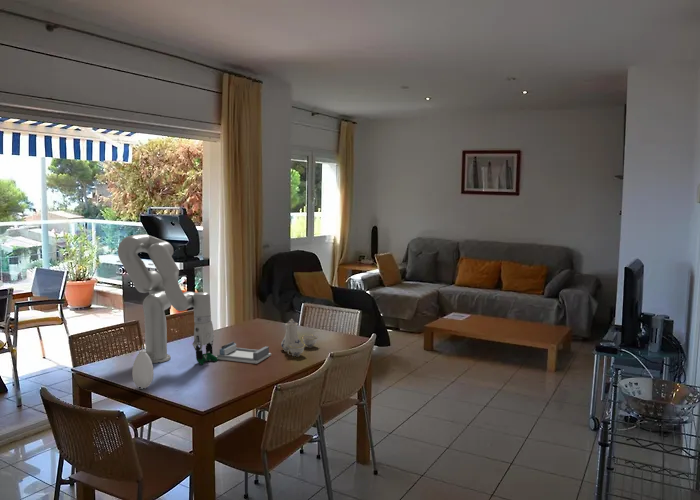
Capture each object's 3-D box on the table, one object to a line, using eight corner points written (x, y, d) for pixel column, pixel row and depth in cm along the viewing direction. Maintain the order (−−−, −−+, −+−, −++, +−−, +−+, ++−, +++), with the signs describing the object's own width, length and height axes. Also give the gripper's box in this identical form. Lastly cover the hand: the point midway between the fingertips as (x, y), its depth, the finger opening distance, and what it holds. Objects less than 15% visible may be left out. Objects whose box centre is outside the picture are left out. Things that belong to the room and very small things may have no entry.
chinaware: (303, 362, 268) (307, 328, 266) (270, 356, 271) (274, 323, 269) (319, 347, 295) (322, 316, 293) (289, 342, 298) (292, 311, 296)
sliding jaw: (224, 356, 266) (224, 347, 266) (219, 355, 267) (219, 346, 266) (236, 349, 277) (236, 341, 277) (232, 349, 278) (232, 340, 278)
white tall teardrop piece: (129, 388, 224) (128, 344, 222) (147, 383, 230) (146, 340, 228) (138, 393, 219) (137, 347, 217) (157, 388, 224) (156, 344, 223)
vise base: (256, 363, 259) (256, 354, 259) (215, 358, 266) (215, 349, 265) (271, 355, 273) (271, 346, 273) (231, 350, 280) (231, 342, 280)
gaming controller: (215, 364, 264) (209, 353, 266) (218, 359, 262) (212, 349, 264) (198, 368, 257) (193, 357, 259) (202, 363, 255) (196, 353, 257)
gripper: (199, 323, 251) (201, 362, 252) (219, 315, 267) (221, 351, 269) (184, 322, 253) (186, 361, 254) (205, 315, 269) (207, 350, 271)
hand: (204, 356), depth 262 cm, fingers closed on gaming controller, 7 cm apart
